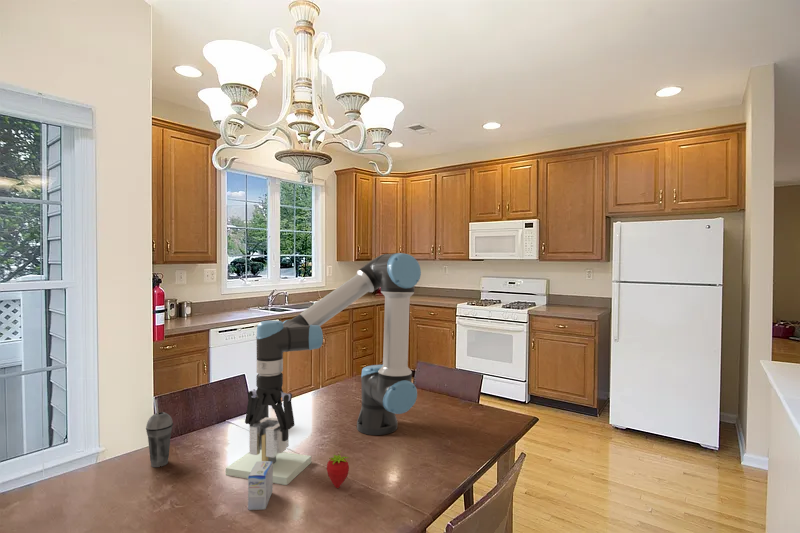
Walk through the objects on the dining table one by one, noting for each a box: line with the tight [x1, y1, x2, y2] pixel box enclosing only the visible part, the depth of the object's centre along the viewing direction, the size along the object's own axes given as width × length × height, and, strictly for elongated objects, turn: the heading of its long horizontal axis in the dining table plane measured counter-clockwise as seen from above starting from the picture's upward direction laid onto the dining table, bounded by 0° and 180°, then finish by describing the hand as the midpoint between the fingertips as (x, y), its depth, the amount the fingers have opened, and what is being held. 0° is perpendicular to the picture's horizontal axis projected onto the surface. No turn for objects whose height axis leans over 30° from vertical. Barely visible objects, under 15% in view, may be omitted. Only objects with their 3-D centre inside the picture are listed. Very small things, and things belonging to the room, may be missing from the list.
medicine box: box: [247, 461, 274, 511], centre depth 108 cm, size 8×4×9 cm, turn 5°
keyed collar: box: [249, 417, 290, 458], centre depth 125 cm, size 8×8×8 cm
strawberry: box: [326, 450, 350, 489], centre depth 115 cm, size 6×8×10 cm
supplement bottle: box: [255, 396, 270, 421], centre depth 157 cm, size 7×7×12 cm
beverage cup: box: [145, 398, 174, 468], centre depth 129 cm, size 7×7×20 cm
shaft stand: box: [225, 426, 312, 486], centre depth 126 cm, size 20×14×12 cm
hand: (269, 449), depth 126 cm, fingers closed on keyed collar, 8 cm apart
